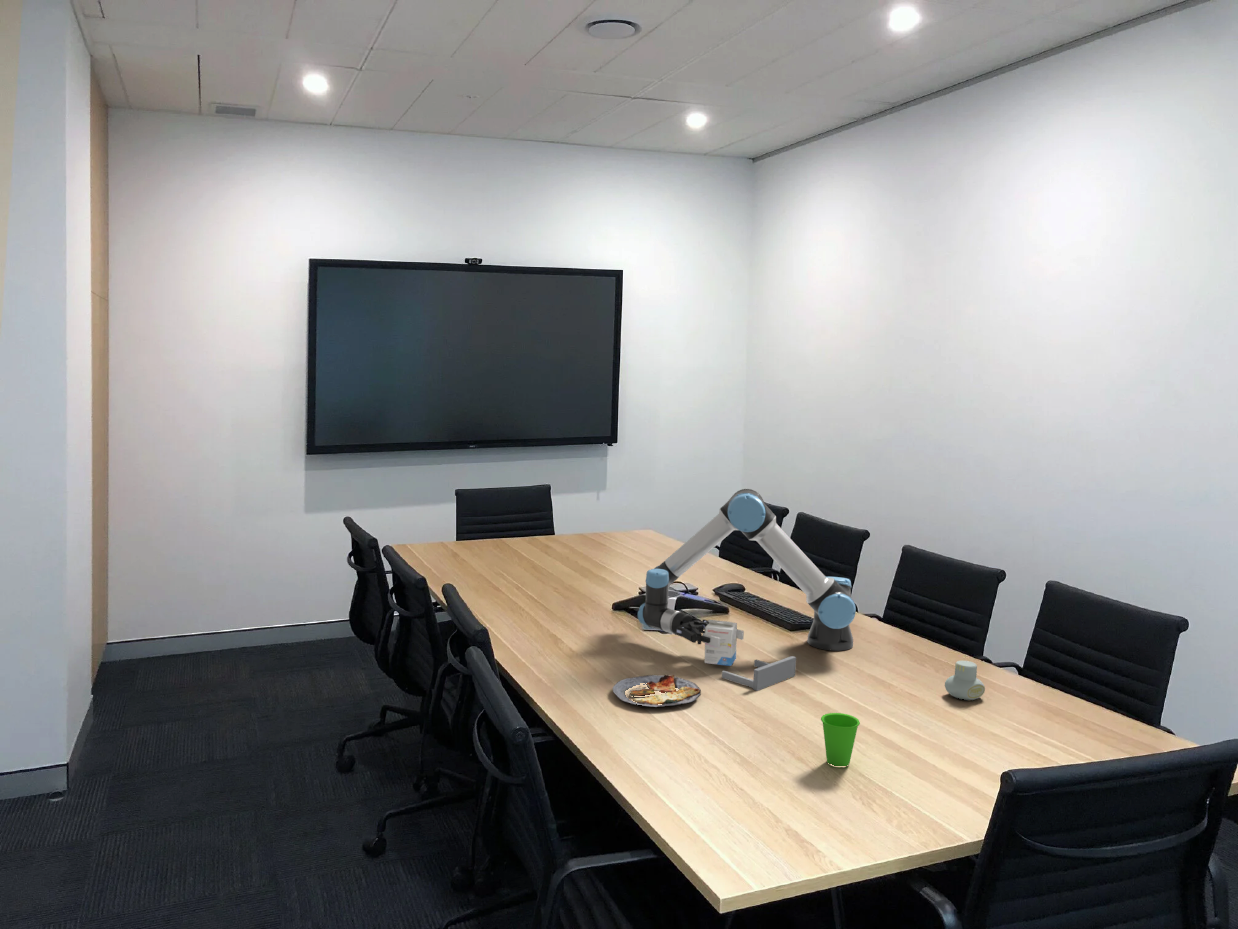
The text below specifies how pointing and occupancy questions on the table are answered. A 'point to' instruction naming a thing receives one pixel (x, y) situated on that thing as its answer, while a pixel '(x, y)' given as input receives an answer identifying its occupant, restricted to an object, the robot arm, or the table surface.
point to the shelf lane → (766, 673)
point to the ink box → (721, 643)
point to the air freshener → (965, 682)
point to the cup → (839, 737)
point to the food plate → (658, 683)
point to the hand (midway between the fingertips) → (731, 639)
